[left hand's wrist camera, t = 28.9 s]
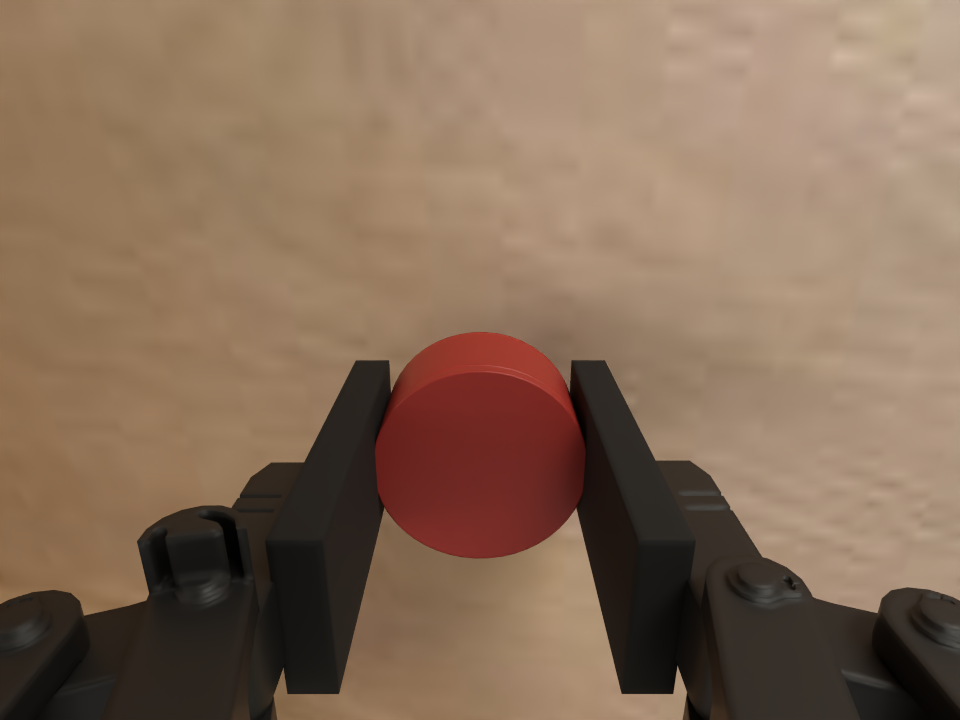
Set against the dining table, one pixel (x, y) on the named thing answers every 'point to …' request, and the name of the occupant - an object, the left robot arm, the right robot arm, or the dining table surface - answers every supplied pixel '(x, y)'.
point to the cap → (480, 447)
